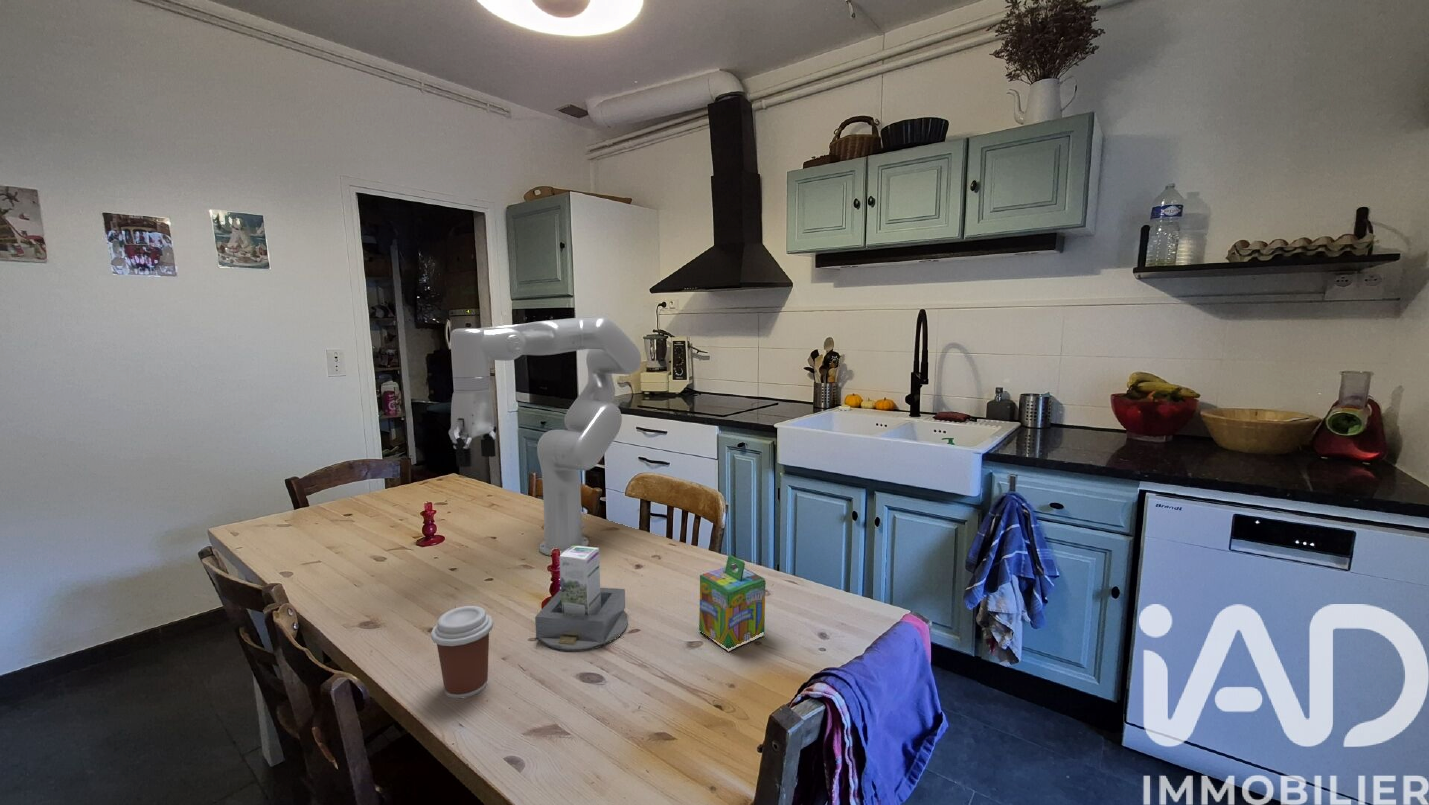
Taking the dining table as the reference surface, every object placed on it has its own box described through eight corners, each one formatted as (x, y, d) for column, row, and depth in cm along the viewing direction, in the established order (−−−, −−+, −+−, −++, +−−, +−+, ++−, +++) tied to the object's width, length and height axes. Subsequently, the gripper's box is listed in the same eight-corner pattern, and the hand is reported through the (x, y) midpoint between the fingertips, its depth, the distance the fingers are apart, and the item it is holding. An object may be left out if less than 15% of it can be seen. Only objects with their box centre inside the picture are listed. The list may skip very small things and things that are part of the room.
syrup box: (602, 616, 111) (600, 546, 109) (588, 632, 105) (585, 558, 103) (576, 613, 112) (573, 543, 110) (561, 628, 106) (558, 555, 105)
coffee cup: (486, 702, 87) (481, 629, 85) (425, 705, 86) (419, 632, 84) (503, 667, 96) (499, 601, 94) (448, 670, 95) (443, 603, 94)
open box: (559, 603, 118) (558, 580, 118) (637, 608, 116) (637, 585, 115) (521, 647, 102) (519, 621, 101) (611, 654, 99) (610, 628, 99)
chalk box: (698, 632, 107) (697, 558, 105) (735, 617, 112) (735, 546, 110) (728, 654, 99) (728, 574, 97) (766, 637, 105) (767, 561, 103)
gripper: (478, 381, 132) (482, 452, 134) (431, 388, 115) (437, 470, 117) (508, 381, 131) (511, 453, 133) (465, 389, 114) (470, 471, 116)
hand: (476, 461), depth 125 cm, fingers open, 9 cm apart
